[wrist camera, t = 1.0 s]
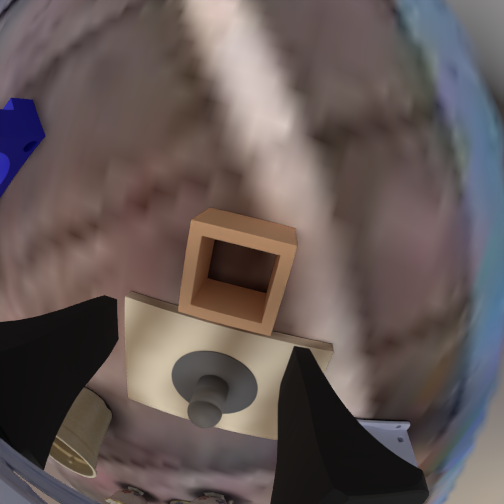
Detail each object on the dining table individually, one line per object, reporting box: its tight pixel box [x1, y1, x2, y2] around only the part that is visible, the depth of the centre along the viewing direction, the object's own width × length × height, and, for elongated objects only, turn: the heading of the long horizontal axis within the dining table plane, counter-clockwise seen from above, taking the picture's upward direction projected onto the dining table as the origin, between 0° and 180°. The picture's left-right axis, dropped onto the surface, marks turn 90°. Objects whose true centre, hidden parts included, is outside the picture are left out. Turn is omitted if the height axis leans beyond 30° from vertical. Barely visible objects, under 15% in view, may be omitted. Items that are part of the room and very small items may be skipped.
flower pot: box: [49, 387, 112, 478], centre depth 23 cm, size 9×9×9 cm
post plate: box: [125, 291, 334, 440], centre depth 20 cm, size 16×12×6 cm
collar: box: [178, 208, 297, 336], centre depth 18 cm, size 6×6×4 cm
